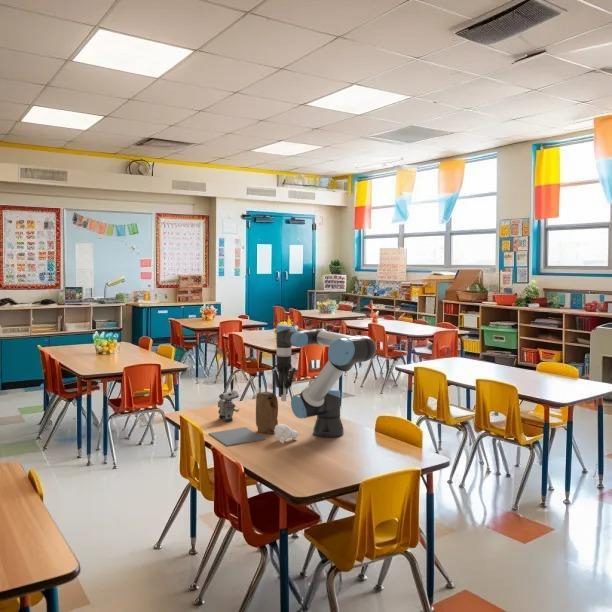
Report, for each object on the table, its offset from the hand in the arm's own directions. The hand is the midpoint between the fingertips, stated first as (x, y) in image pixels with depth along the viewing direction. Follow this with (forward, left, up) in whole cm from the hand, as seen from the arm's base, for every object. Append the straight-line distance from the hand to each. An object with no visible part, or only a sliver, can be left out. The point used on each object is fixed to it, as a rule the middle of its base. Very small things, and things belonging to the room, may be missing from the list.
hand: (283, 400), depth 305 cm
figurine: (+31, +17, -15) cm, 38 cm away
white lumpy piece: (-18, +9, -15) cm, 25 cm away
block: (0, +10, -15) cm, 18 cm away
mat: (0, +27, -15) cm, 30 cm away
